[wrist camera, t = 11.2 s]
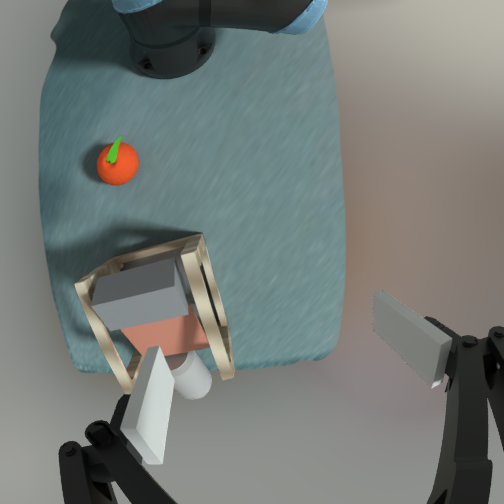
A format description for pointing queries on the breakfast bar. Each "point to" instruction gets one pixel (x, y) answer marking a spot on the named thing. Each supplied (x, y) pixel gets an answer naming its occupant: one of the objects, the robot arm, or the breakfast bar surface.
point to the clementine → (117, 163)
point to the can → (189, 375)
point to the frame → (198, 283)
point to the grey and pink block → (150, 308)
